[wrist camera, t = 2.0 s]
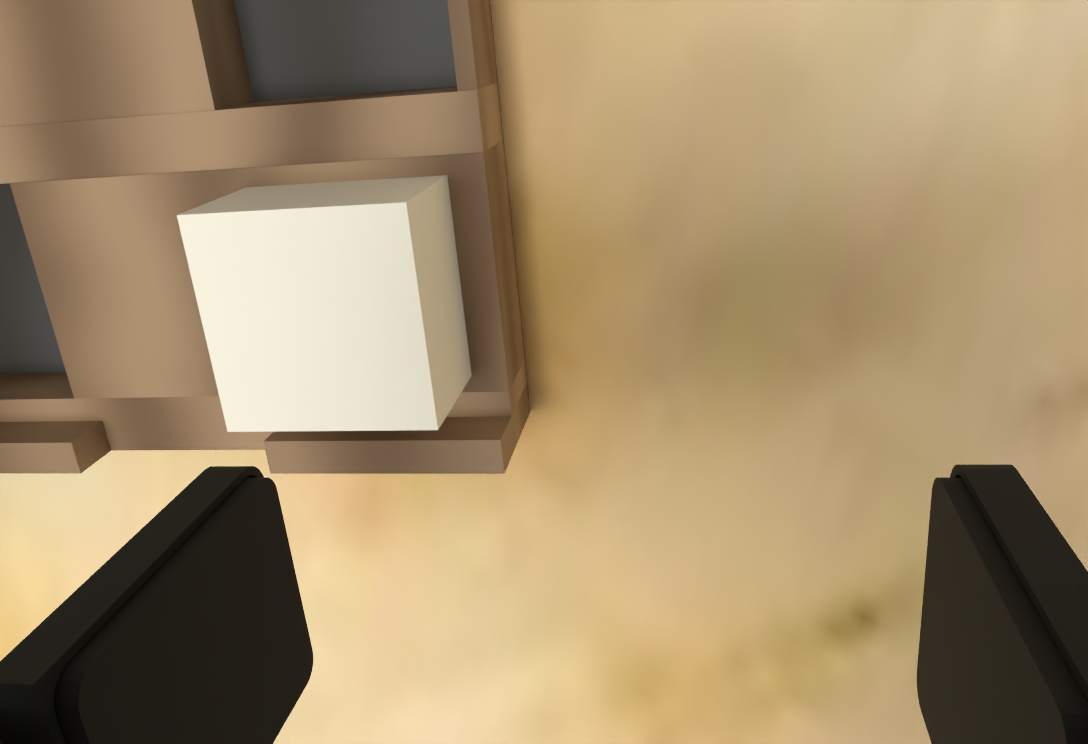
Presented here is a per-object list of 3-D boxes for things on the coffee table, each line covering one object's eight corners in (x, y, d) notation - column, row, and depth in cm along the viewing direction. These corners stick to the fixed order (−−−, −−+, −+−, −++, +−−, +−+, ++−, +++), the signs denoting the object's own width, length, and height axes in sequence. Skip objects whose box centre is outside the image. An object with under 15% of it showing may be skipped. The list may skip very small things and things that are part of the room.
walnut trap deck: (461, -284, 21) (412, -345, 17) (529, 412, 28) (504, 473, 24) (-285, -168, 25) (-454, -199, 21) (-69, 419, 31) (-171, 472, 28)
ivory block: (447, 175, 23) (406, 202, 19) (471, 375, 25) (438, 430, 21) (247, 187, 24) (176, 215, 20) (286, 379, 26) (227, 431, 22)
